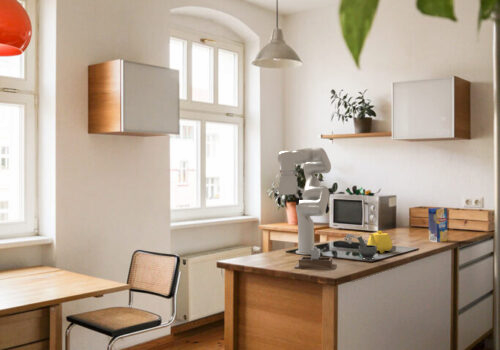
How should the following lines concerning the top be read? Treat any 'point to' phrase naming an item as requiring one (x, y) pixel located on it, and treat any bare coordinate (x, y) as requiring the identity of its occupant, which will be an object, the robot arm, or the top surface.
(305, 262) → the brown wooden base plate
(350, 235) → the bracket
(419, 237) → the top surface
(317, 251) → the bracket block
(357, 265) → the top surface
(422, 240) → the top surface
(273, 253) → the top surface
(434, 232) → the blue food box
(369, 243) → the teapot
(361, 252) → the mortar and pestle
